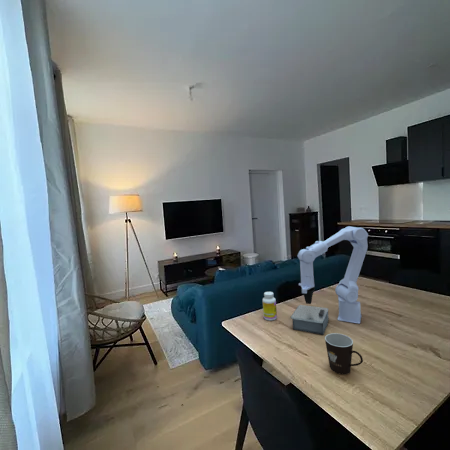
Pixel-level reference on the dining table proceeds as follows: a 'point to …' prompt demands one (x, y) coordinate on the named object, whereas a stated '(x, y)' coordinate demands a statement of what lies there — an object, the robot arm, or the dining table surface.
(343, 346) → the coffee mug
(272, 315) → the supplement bottle
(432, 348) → the dining table surface
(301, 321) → the grey square box
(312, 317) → the steel lid
